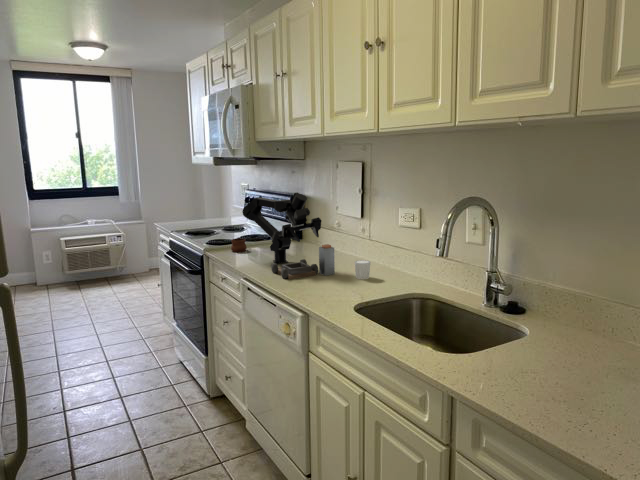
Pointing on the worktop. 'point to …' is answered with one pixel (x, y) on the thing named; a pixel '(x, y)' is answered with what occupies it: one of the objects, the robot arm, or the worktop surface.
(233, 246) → the ceramic pot
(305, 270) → the chassis
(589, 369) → the worktop surface
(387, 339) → the worktop surface
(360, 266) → the shot glass
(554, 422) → the worktop surface
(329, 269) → the engine block
